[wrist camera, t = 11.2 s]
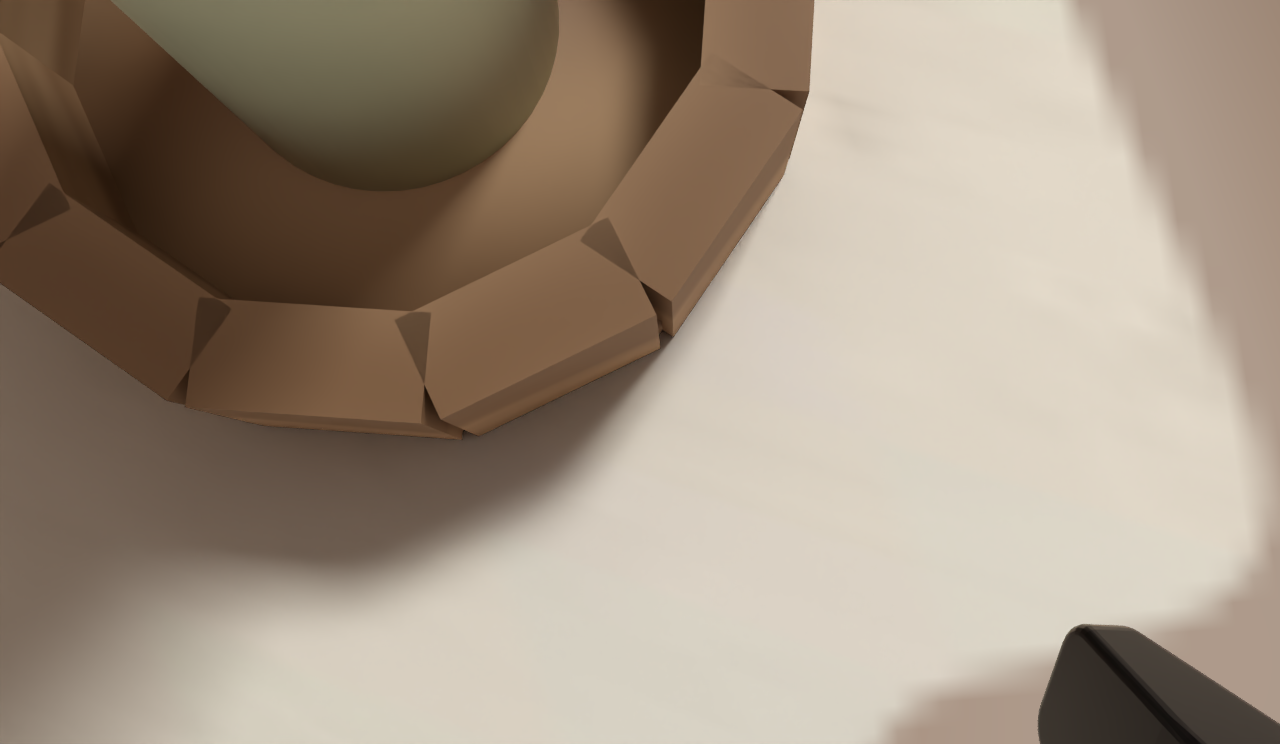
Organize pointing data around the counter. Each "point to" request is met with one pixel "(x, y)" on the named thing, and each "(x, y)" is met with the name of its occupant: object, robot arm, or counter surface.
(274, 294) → the bowl
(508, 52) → the candle
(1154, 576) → the counter surface
